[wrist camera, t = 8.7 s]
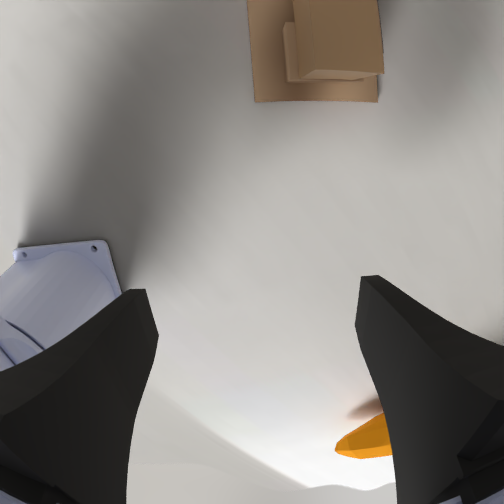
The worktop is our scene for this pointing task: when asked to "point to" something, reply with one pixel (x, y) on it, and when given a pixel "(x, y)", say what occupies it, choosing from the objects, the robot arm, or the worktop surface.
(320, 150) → the worktop surface
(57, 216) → the worktop surface
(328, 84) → the display stand
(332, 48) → the long wooden plank
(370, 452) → the corn
